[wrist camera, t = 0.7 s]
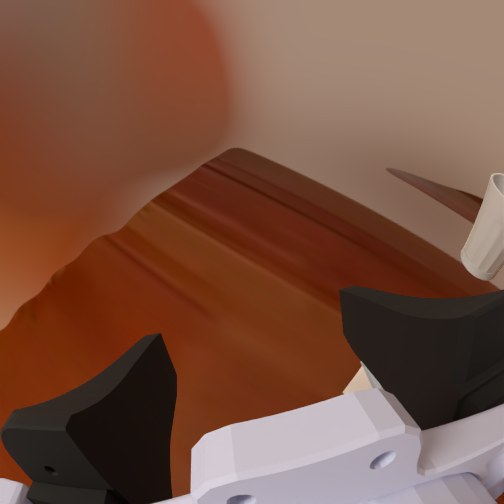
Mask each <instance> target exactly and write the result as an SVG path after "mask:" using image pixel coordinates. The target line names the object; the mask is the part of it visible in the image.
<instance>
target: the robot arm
mask: <svg viewBox="0 0 504 504" xmlns="http://www.w3.org/2000/svg"><path fill="white" fill-rule="evenodd" d="M339 293H340V302H341V312H342V322H343V333H344V335H345V337H346V339H347V341H348V343H349V344H350V346H351V348H352V350H353V351H354V352H355V354H356V355H357V356H358V358H359V359H360V360H361V361H362V363H363V364H364V365H365V366H366V367H367V369H368V370H369V371H370V372H371V374H372V375H373V376H374V377H375V378H376V380H377V381H378V382H379V383H380V385H381V386H382V387H383V389H384V390H385V391H384V390H382V389H379V388H372V389H366V390H360V391H353V392H350V393H347V394H344V395H341V396H338V397H335V398H332V399H329V400H326V401H323V402H319V403H316V404H313V405H309V406H306V407H302V408H299V409H295V410H292V411H288V412H284V413H280V414H276V415H272V416H268V417H264V418H260V419H255V420H251V421H246V422H241V423H236V424H231V425H228V426H226V427H223V428H220V429H218V430H215V431H212V432H210V433H207V434H205V435H204V436H203V437H202V438H201V439H200V440H199V442H198V443H197V444H196V445H195V446H194V447H193V448H192V458H191V493H190V494H187V495H183V496H180V497H176V498H172V488H171V472H170V439H171V431H172V424H173V417H174V411H175V404H176V397H177V374H176V372H175V369H174V367H173V364H172V362H171V359H170V357H169V354H168V351H167V349H166V346H165V344H164V341H163V338H162V336H161V333H157V334H152V335H147V336H145V337H143V338H142V339H141V340H139V341H138V342H137V343H136V344H135V345H133V346H132V347H131V348H130V349H129V350H128V351H127V352H126V353H124V354H123V355H122V356H121V357H120V358H119V359H117V360H116V361H115V362H114V363H113V364H111V365H110V366H109V367H108V368H106V369H105V370H104V371H102V372H101V373H100V374H98V375H97V376H95V377H94V378H92V379H91V380H89V381H88V382H86V383H85V384H83V385H81V386H79V387H77V388H75V389H73V390H71V391H69V392H67V393H66V394H63V395H61V396H59V397H56V398H54V399H51V400H49V401H46V402H43V403H40V404H37V405H33V406H29V407H25V408H21V409H17V410H14V411H13V412H12V414H11V415H10V417H9V418H8V420H7V421H6V423H5V424H4V426H3V427H2V429H1V433H0V434H1V440H2V442H3V444H4V446H5V449H6V450H7V451H8V453H9V454H10V456H11V457H12V458H13V459H14V460H15V462H16V463H17V464H18V465H19V466H20V467H21V469H22V470H23V471H24V472H25V473H26V474H27V475H28V476H29V477H30V478H31V480H33V482H32V484H31V487H30V488H29V487H28V486H26V485H25V484H23V483H20V482H16V481H12V480H8V479H4V478H1V479H0V504H497V502H496V501H495V499H496V498H498V497H499V496H500V495H501V494H502V493H503V492H504V290H500V291H496V292H492V293H488V294H484V295H478V296H471V297H463V298H446V299H433V298H418V297H410V296H404V295H398V294H393V293H388V292H383V291H379V290H374V289H370V288H365V287H359V286H351V287H348V288H344V289H341V290H339Z"/></svg>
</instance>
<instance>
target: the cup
mask: <svg viewBox="0 0 504 504" xmlns="http://www.w3.org/2000/svg"><path fill="white" fill-rule="evenodd" d="M461 260H462V262H463V264H464V266H465V267H466V269H467V270H468V271H469V272H470V273H471V274H472V275H474V276H475V277H477V278H479V279H482V280H491V279H493V278H494V277H495V275H496V274H497V272H498V271H499V270H500V269H501V267H502V266H503V265H504V174H500V173H494V174H492V175H491V178H490V181H489V184H488V187H487V190H486V193H485V196H484V200H483V203H482V206H481V208H480V211H479V213H478V216H477V218H476V221H475V223H474V226H473V228H472V230H471V233H470V235H469V237H468V240H467V242H466V243H465V245H464V247H463V249H462V251H461Z"/></svg>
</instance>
